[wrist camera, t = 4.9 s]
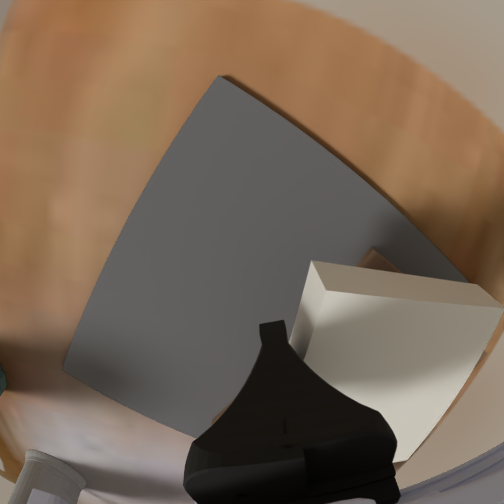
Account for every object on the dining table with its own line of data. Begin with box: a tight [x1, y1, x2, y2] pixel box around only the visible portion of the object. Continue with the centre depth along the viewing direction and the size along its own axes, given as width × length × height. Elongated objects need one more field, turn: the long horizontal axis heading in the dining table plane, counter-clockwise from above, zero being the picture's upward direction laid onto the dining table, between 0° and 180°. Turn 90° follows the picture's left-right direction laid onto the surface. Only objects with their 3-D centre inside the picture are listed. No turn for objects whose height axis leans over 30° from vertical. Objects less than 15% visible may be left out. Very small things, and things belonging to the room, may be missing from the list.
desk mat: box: [62, 75, 469, 438], centre depth 19 cm, size 22×22×1 cm
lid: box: [289, 260, 504, 463], centre depth 13 cm, size 11×9×3 cm
